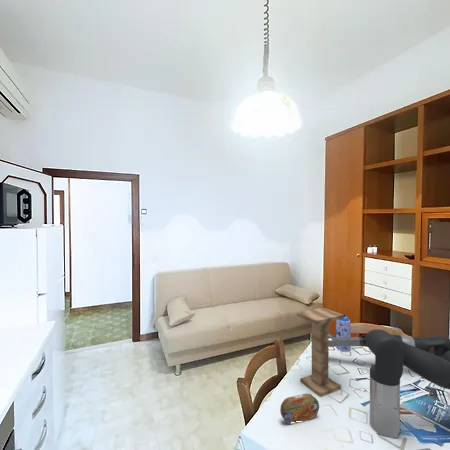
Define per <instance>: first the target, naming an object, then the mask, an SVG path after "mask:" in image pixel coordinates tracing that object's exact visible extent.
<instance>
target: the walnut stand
mask: <svg viewBox="0 0 450 450" xmlns="http://www.w3.org/2000/svg"><path fill="white" fill-rule="evenodd" d="M343 314H344V313H341V312H340V313H339V312H337V311H333V310H331V309H328V308H325V307H318V308H313V309H307V310H303V311H297V312H296V317H299V318H301V319H303V320H305V321H308V322H309V323H311V374H310V375H307V376H304V377H302V378H300V379H299V380H300V381H299V382H300V383H301V384H302V385H303V386H305V387H306V388H308V390H310V391H312V392H313V393H314V394H316V395H317V396H318V397H320V398H322V397H325V396H326V395H329V394H332V393H334V392H337V391H340V390H342V387H341V386H342V385H341V384H340V383H337V382H336V381H334V380H332V379H331V378H330V376H329V366H330V365H329V359H330V357H329V354H330V353H329V348H330V347H329V334H330V333H329V331H330V329H329V323H331V322H334V321H335V322H336V320H339V319H344V315H343Z"/></svg>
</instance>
